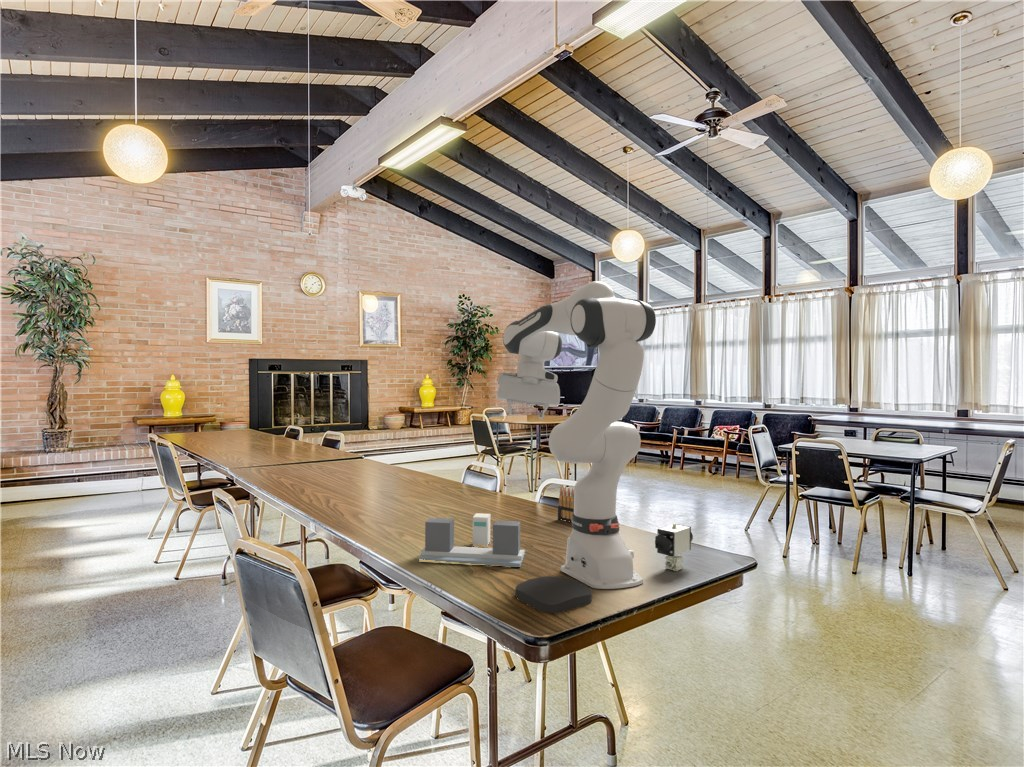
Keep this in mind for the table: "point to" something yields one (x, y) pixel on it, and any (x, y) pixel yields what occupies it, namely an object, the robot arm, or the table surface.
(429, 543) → the twin block stand
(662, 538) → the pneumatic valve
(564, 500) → the ammunition clip
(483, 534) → the block
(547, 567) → the table surface
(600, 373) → the robot arm
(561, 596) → the media streaming box
